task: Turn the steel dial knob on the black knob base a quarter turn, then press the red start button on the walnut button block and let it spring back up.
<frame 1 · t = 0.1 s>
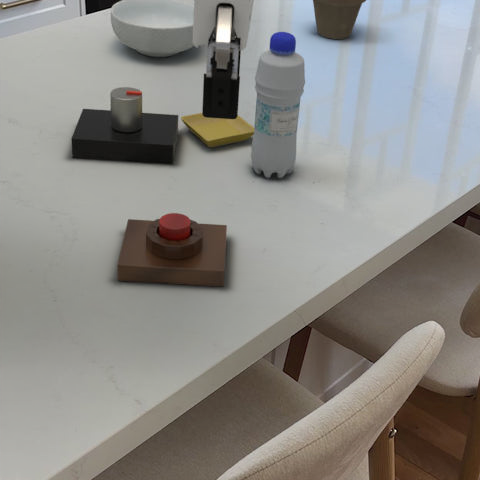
hand: (221, 95, 85), 24 cm above the kitchen island, tool pointing down, fingers open, 9 cm apart
bottle: (271, 172, 126), on the kitchen island
dial knob: (126, 108, 125), point 6 cm above the kitchen island, hinge at 0.0°
start button: (174, 227, 103), point 4 cm above the kitchen island, slide at 0.1 cm
button block: (174, 259, 105), on the kitchen island
saucer: (217, 137, 133), on the kitchen island
cereal bowl: (158, 50, 161), on the kitchen island
black knob base: (127, 145, 128), on the kitchen island
flower pot: (333, 35, 175), on the kitchen island
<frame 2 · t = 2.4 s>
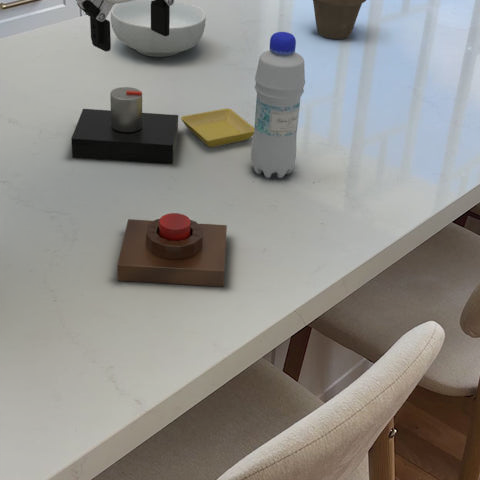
hand: (131, 40, 117), 17 cm above the kitchen island, tool pointing down, fingers open, 9 cm apart
nothing on the kitchen island moved.
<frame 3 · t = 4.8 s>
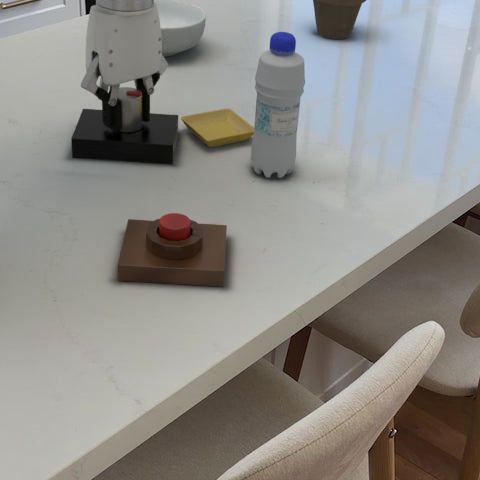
hand: (126, 122, 126), 4 cm above the kitchen island, tool pointing down, fingers closed on dial knob, 4 cm apart
dial knob: (126, 108, 125), point 6 cm above the kitchen island, hinge at 0.0°, touching gripper
everything else where it was.
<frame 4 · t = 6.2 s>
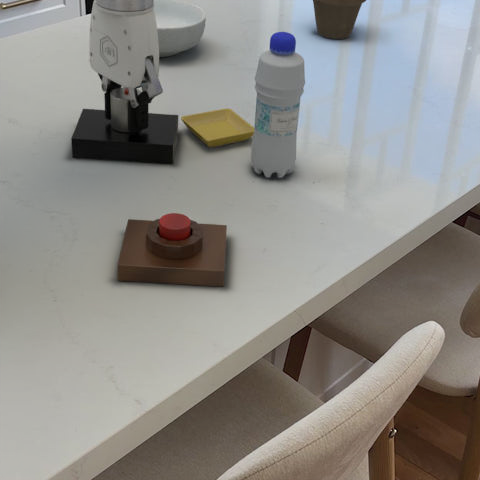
hand: (126, 122, 126), 4 cm above the kitchen island, tool pointing down, fingers closed on dial knob, 4 cm apart
dial knob: (126, 108, 125), point 6 cm above the kitchen island, hinge at 90.9°, touching gripper
everything else where it was.
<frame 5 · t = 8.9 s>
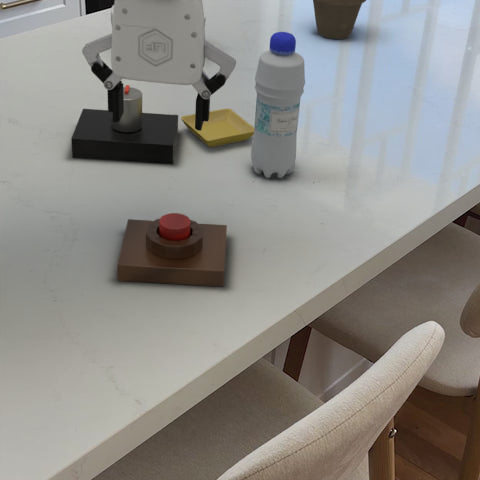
hand: (158, 121, 105), 13 cm above the kitchen island, tool pointing down, fingers open, 9 cm apart
dial knob: (126, 108, 125), point 6 cm above the kitchen island, hinge at 91.4°
everything else where it was.
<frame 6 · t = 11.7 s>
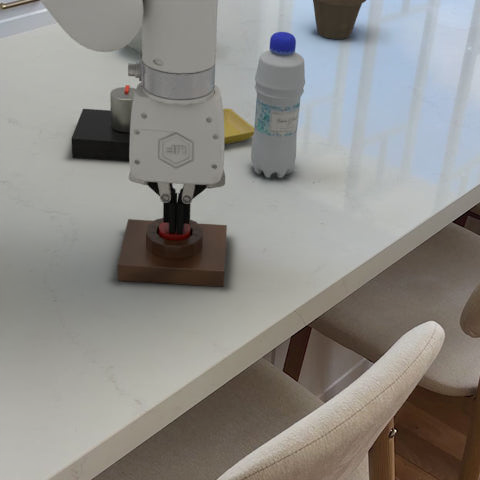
hand: (176, 227, 103), 5 cm above the kitchen island, tool pointing down, fingers closed
start button: (174, 233, 103), point 4 cm above the kitchen island, slide at -0.8 cm, touching gripper
everything else where it was.
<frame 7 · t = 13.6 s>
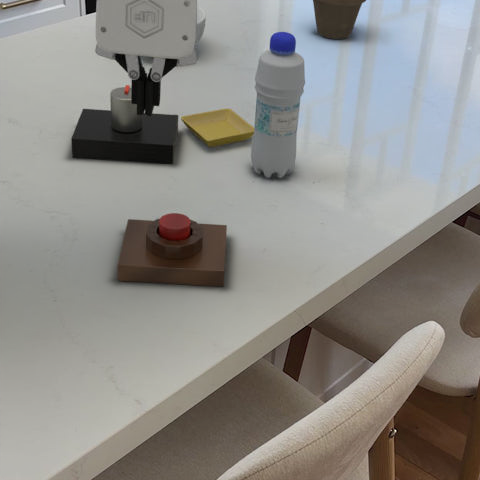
hand: (145, 110, 98), 17 cm above the kitchen island, tool pointing down, fingers closed
start button: (174, 227, 103), point 4 cm above the kitchen island, slide at 0.1 cm
everything else where it was.
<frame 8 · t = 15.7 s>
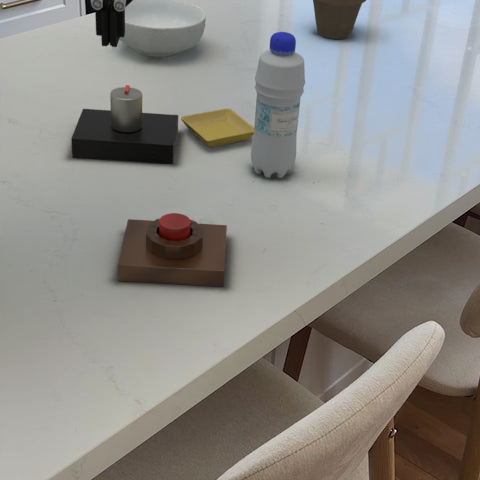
hand: (110, 42, 98), 23 cm above the kitchen island, tool pointing down, fingers closed
nothing on the kitchen island moved.
at the end: dial knob at +91° (first picture: +0°); start button pushed in 1.1 cm at the most during the clip, back to where it started at the end; start button slide at 0.1 cm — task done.
